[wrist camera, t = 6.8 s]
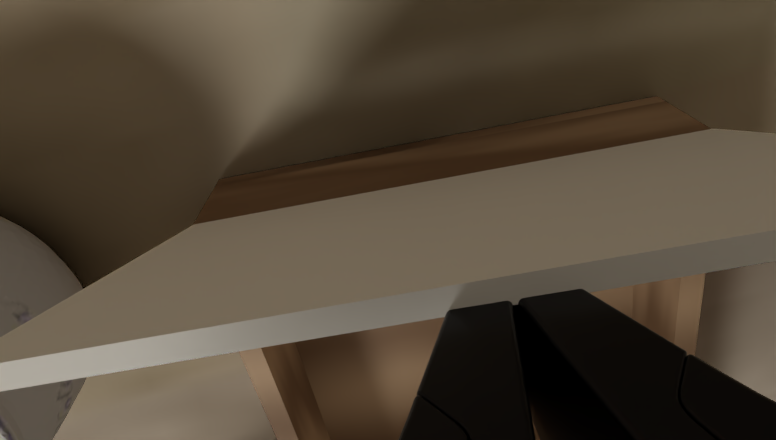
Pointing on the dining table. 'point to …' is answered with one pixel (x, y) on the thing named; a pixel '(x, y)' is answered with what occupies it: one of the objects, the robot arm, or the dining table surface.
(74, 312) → the grey flat panel
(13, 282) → the teacup
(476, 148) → the wooden tray
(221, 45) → the dining table surface
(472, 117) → the dining table surface
